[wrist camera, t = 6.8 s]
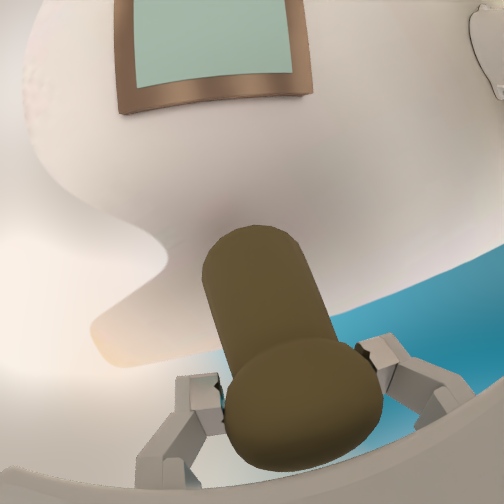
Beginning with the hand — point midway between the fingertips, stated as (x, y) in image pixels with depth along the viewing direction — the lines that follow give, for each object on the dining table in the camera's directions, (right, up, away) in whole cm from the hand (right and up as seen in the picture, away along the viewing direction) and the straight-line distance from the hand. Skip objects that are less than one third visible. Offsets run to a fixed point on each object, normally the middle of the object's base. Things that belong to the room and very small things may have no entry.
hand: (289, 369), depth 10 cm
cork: (-1, +3, +7) cm, 8 cm away
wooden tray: (-6, +26, +12) cm, 30 cm away
